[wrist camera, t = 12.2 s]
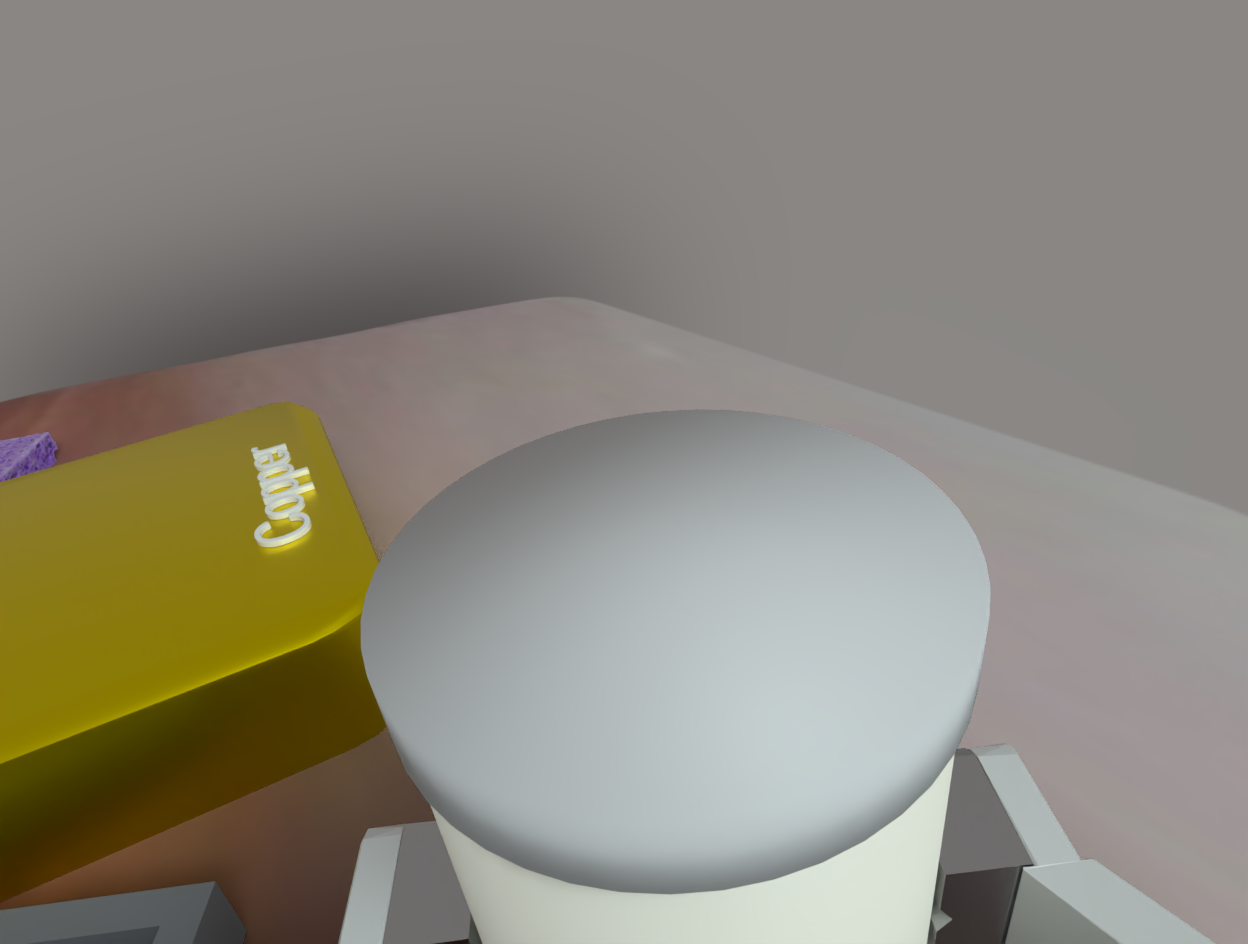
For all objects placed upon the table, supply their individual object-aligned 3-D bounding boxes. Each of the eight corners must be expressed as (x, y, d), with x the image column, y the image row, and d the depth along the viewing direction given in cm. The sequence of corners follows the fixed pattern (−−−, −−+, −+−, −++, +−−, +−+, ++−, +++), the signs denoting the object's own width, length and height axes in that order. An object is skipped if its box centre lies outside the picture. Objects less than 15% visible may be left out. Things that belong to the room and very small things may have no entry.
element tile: (438, 723, 22) (392, 588, 20) (-240, 1023, 18) (-415, 893, 15) (340, 482, 34) (304, 377, 32) (-82, 620, 29) (-164, 510, 27)
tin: (955, 1326, 11) (1145, 754, 5) (571, 1382, 11) (284, 877, 5) (838, 937, 16) (863, 382, 10) (564, 976, 16) (407, 446, 10)
